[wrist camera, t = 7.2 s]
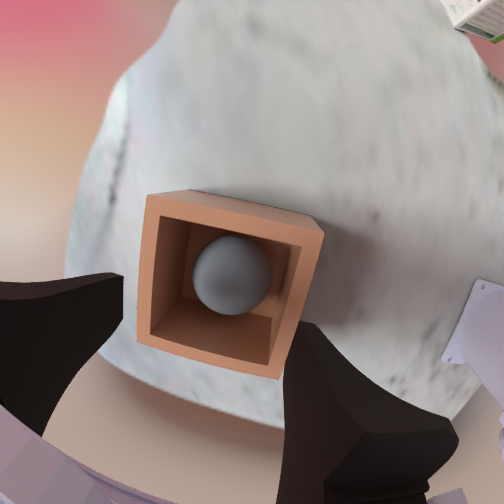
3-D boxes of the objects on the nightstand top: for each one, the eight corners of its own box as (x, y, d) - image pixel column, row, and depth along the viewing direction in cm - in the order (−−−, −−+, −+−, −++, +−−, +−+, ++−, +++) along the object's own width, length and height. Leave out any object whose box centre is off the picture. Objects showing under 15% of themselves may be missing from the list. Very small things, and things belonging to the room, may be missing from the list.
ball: (276, 235, 17) (284, 256, 13) (260, 300, 19) (263, 336, 14) (205, 221, 17) (190, 238, 13) (194, 287, 18) (179, 320, 14)
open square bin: (309, 215, 17) (324, 232, 11) (280, 325, 19) (278, 379, 14) (188, 189, 18) (147, 194, 12) (172, 299, 20) (136, 341, 14)
